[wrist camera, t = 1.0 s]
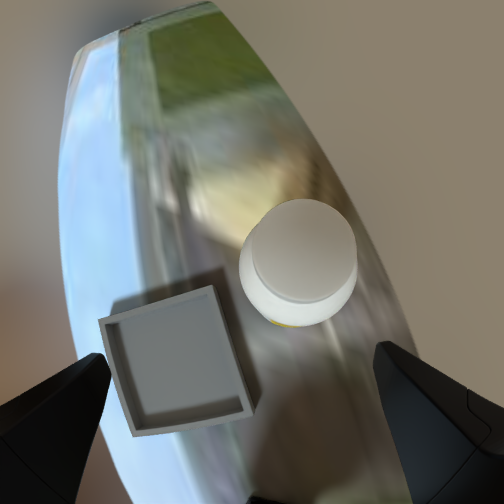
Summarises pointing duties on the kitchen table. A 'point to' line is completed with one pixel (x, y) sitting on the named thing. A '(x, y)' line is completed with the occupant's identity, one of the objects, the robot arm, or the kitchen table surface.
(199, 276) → the kitchen table surface
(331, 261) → the supplement bottle
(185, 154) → the kitchen table surface
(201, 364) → the tray
